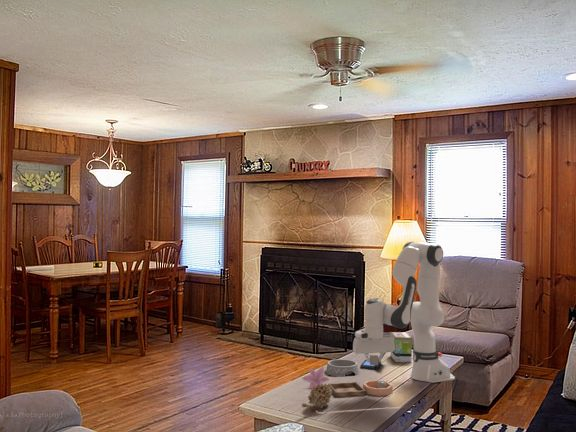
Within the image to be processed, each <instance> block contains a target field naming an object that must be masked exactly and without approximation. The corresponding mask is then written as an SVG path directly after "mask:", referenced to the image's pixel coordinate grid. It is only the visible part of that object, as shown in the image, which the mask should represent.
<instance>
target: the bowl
mask: <svg viewBox="0 0 576 432" xmlns="http://www.w3.org/2000/svg"><path fill="white" fill-rule="evenodd" d="M378 381H381V380H378V379H377V380H367V381H365V382H363V383H362V388H364V389H365V390H366V395H367V394H368V395H372V396H379V397H381V396H389V395H391V394H392V395H393V392H394V389H393V387H394V385H393V384H391V382H388V381H385V382H386V388H378Z"/></svg>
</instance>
